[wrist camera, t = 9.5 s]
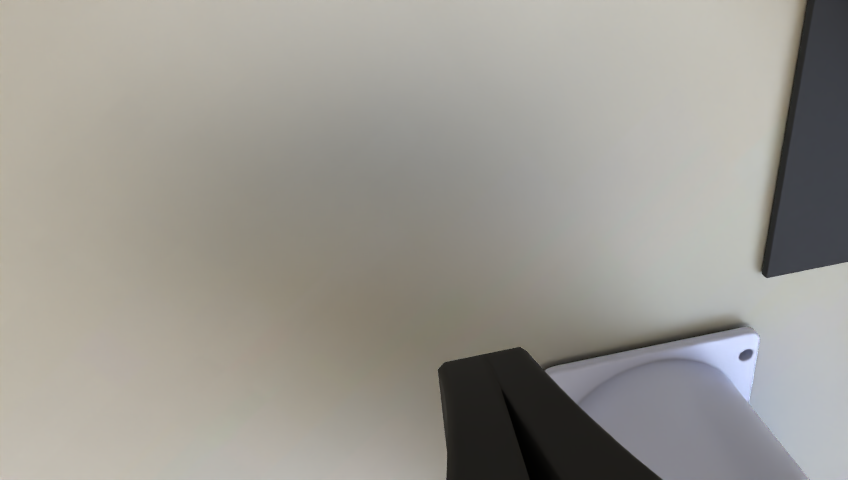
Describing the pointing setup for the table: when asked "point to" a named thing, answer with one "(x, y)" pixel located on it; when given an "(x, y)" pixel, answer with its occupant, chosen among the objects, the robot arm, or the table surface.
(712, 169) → the table surface
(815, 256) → the mat
